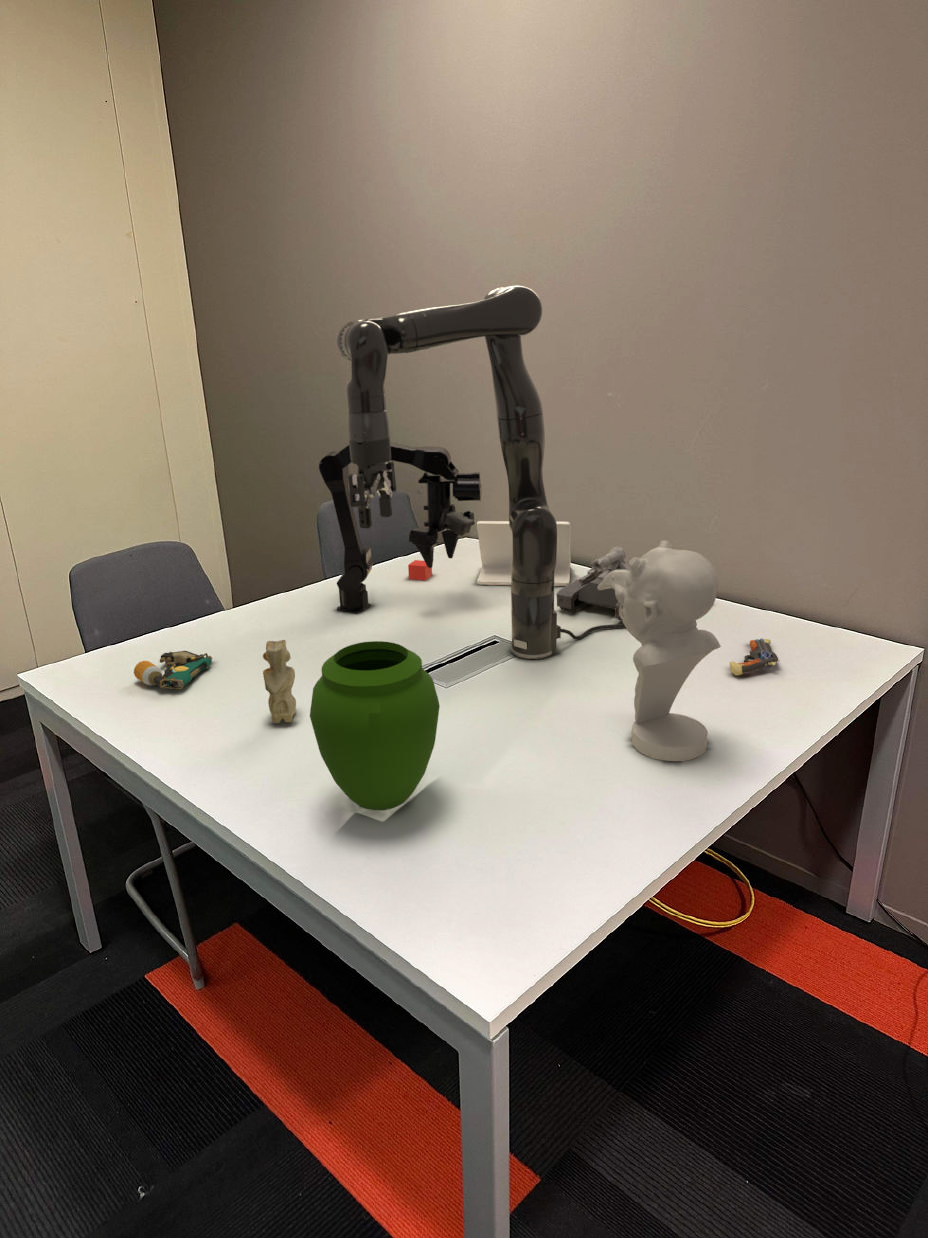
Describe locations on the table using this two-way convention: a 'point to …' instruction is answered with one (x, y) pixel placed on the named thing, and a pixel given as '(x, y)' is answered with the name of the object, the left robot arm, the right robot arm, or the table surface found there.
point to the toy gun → (756, 658)
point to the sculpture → (279, 681)
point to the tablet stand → (500, 553)
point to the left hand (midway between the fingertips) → (440, 562)
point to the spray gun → (172, 669)
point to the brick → (419, 570)
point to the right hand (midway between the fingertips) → (376, 522)
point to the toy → (594, 585)
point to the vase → (375, 722)
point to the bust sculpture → (666, 643)
